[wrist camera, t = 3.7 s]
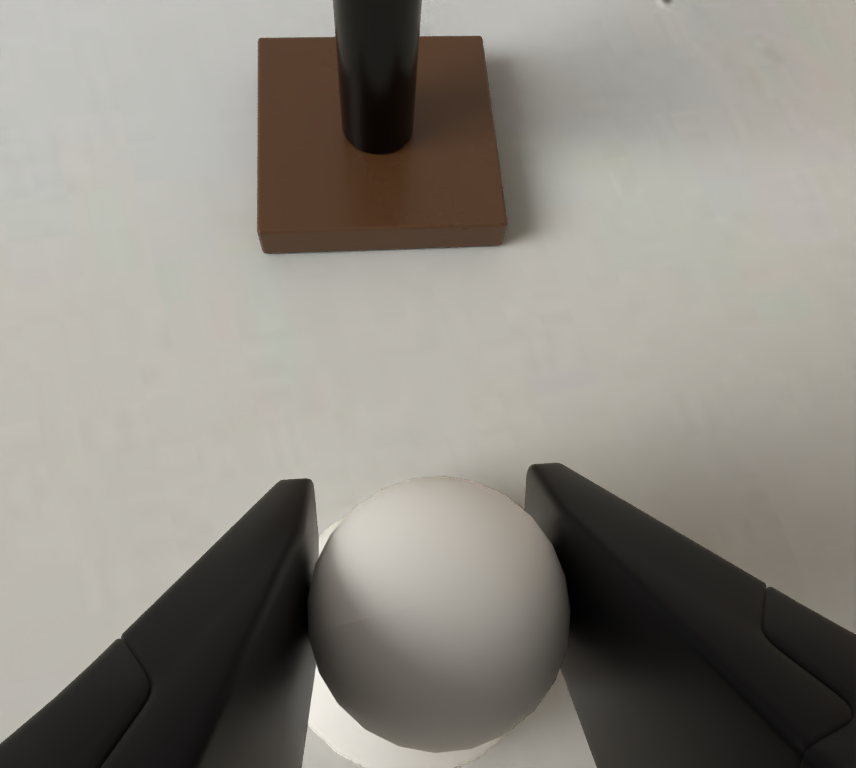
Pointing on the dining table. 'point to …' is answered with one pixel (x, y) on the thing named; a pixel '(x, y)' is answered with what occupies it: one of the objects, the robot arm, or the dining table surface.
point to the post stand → (376, 137)
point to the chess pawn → (432, 624)
